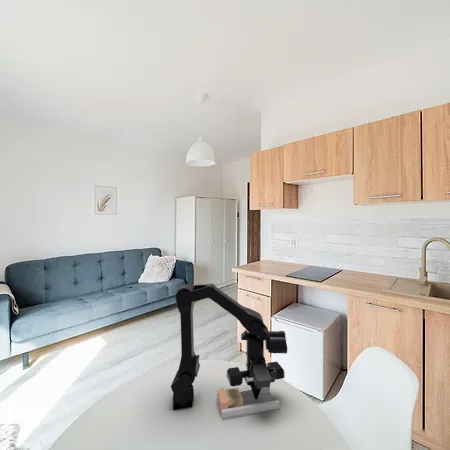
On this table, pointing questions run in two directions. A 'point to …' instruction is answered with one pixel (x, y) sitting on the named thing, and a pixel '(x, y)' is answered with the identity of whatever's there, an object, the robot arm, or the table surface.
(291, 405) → the table surface
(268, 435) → the table surface
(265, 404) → the channel
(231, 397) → the tan block
